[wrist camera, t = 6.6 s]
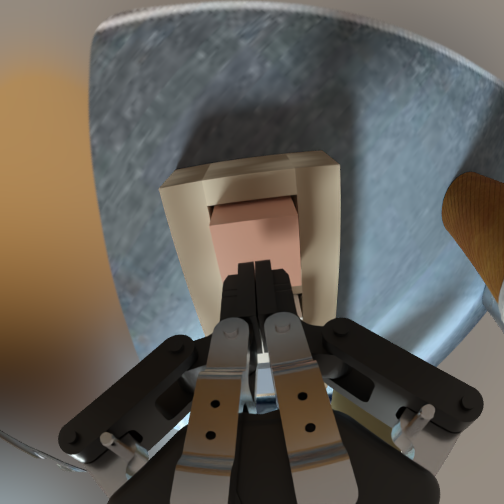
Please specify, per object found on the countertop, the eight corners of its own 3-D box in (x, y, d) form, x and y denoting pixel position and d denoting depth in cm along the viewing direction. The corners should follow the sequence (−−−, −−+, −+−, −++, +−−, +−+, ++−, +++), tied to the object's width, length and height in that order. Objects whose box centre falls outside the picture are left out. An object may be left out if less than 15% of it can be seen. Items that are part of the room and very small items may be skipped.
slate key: (296, 335, 25) (300, 364, 22) (296, 362, 27) (300, 389, 24) (248, 340, 25) (248, 370, 22) (254, 366, 27) (255, 394, 24)
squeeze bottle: (362, 394, 35) (388, 504, 19) (314, 392, 33) (333, 517, 18) (395, 361, 31) (437, 483, 15) (346, 356, 29) (382, 504, 14)
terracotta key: (288, 191, 17) (297, 214, 14) (293, 253, 19) (301, 285, 16) (215, 201, 17) (208, 225, 14) (228, 261, 19) (225, 294, 16)
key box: (322, 150, 18) (339, 164, 14) (320, 358, 29) (326, 387, 26) (175, 169, 18) (158, 188, 15) (231, 368, 30) (230, 398, 26)
